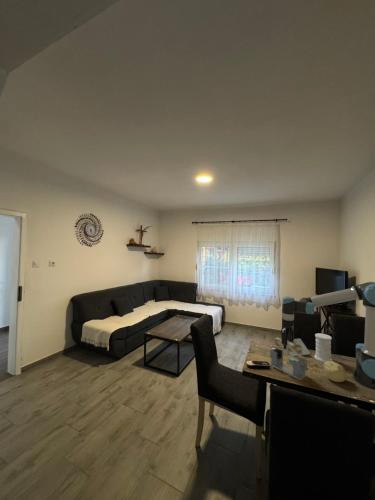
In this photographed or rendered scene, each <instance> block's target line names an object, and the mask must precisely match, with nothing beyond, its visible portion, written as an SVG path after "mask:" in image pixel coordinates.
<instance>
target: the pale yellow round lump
mask: <svg viewBox="0 0 375 500" xmlns="http://www.w3.org/2000/svg"><path fill="white" fill-rule="evenodd" d="M322 363H323V364H322V366H323V370H324V373H325V377H326V378H327V379H329V380H330V381H332V382H335V383H342V382H345V381H346V380H347V372H346V371H347V370H346V369H345V367H343V366H342V365H341V364H339V363H338V362H335V361H333V360H332V361H326V362H325V363H324V362H322Z"/></svg>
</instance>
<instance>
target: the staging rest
mask: <svg viewBox="0 0 375 500" xmlns="http://www.w3.org/2000/svg"><path fill="white" fill-rule="evenodd" d="M293 360H295V361H298V362H299V359H296V358H293V357H290V358H289V359H288V363H289V364H290V365H293Z"/></svg>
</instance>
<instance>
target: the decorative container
mask: <svg viewBox="0 0 375 500" xmlns="http://www.w3.org/2000/svg"><path fill="white" fill-rule="evenodd" d="M314 337H315V354H314V358H315V360H316V361H318V362H320V363H325V362H326V361H333V358H332V355H331V353H332V350H331V349H332V339H333V338H332V336H330V335H328V334H325V333H321V332H320V333H319V332H318V333H315V334H314Z"/></svg>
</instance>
